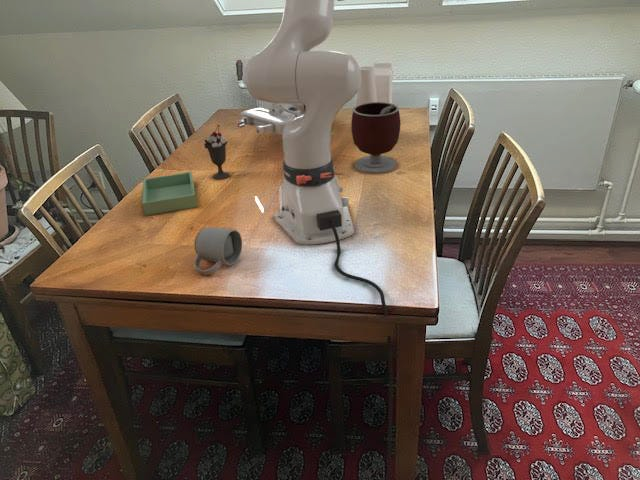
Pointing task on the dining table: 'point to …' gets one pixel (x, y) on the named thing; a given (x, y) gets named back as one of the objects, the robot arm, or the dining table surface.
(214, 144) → the sundae
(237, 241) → the ceramic mug
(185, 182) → the green tray
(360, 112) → the mate gourd
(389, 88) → the milk
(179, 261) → the dining table surface
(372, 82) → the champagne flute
